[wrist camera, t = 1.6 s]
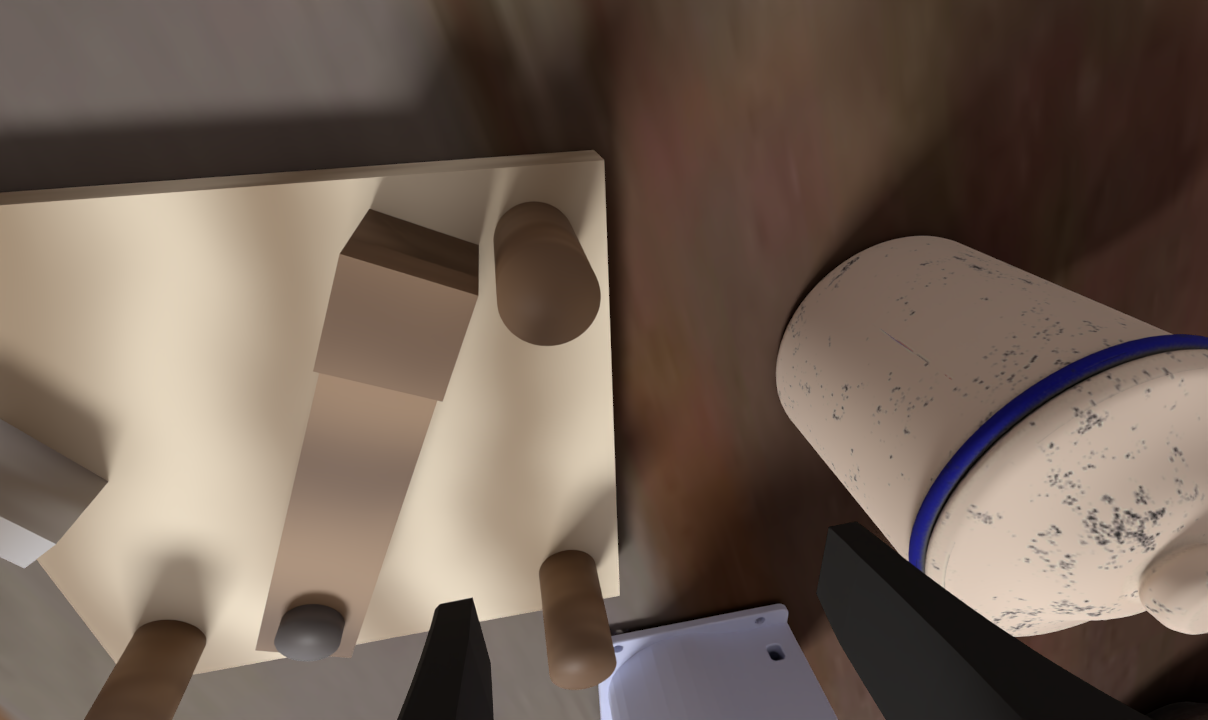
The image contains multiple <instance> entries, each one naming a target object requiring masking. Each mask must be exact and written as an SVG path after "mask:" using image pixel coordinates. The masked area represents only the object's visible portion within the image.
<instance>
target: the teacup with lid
mask: <svg viewBox="0 0 1208 720" xmlns="http://www.w3.org/2000/svg"><path fill="white" fill-rule="evenodd" d="M776 384H777V390H778V395H779V398H780V401H781V404H782V406H783V408H784V410H785V412H786V413H787V415H788V417H789V418H790V420H791V421H792V422H793V423H794V424H795V426H796V427H797V428H798V429H799V431H800V432H801V433H802V434H803V436H804V437H805V438H806V439H807V440H808V442H809V443H810V444H811V445H812V447H813V448H814V449H815V450H816V452H817V453H818V454H819V455H820V456H821V458H822V459H823V460H824V461H825V463H826V464H827V465H828V466H829V468H830V469H831V470H832V471H833V472H834V474H835V475H836V476H837V477H838V479H839V480H840V481H841V482H842V484H843V485H844V486H845V487H846V488H847V490H848V491H849V492H850V493H851V495H852V496H853V497H854V498H855V500H856V501H857V502H858V503H859V505H860V506H861V507H862V508H863V509H864V511H865V512H866V513H867V514H868V516H869V517H870V518H871V519H872V521H873V522H874V523H875V524H876V525H877V527H878V528H879V529H880V530H881V532H882V533H883V534H884V535H885V537H886V538H887V539H888V540H889V541H890V543H891V544H892V545H893V546H894V548H895V549H896V550H897V551H898V553H899V554H900V555H901V556H902V557H903V558H905V559H906V560H907V561H909V562H910V563H911V564H913V565H914V566H915V567H917V568H918V569H919V570H921V571H922V572H923V573H924V574H926V575H927V576H928V577H930V578H931V579H932V580H934V581H935V582H936V583H938V584H939V585H941V586H942V587H943V588H945V589H946V590H947V591H949V592H950V593H951V594H953V595H954V596H956V597H957V598H958V599H960V600H961V601H962V602H964V603H965V604H967V605H968V606H969V607H971V608H972V609H974V610H975V611H977V612H978V613H979V614H981V615H982V616H984V617H985V618H987V619H988V620H989V621H991V622H992V623H994V624H995V625H997V626H998V627H1000V628H1001V629H1003V630H1004V631H1006V632H1007V633H1009V634H1010V635H1012V636H1013V637H1020V636H1032V635H1039V634H1045V633H1050V632H1055V631H1059V630H1062V629H1066V628H1070V627H1073V626H1076V625H1079V624H1082V623H1085V622H1087V621H1090V620H1107V619H1114V618H1121V617H1126V616H1131V615H1134V614H1138V613H1141V612H1144V611H1146V610H1147V611H1148V612H1149V613H1150V614H1151V615H1153V616H1154V617H1155V618H1156V619H1157V620H1158V621H1160V622H1161V623H1162V624H1163V625H1165V626H1166V627H1168V628H1170V629H1172V630H1175V631H1178V632H1182V633H1185V634H1202V633H1207V632H1208V338H1207V337H1203V336H1196V335H1186V334H1176V335H1173V334H1171V333H1169V332H1166V331H1164V330H1162V329H1159V328H1157V327H1155V326H1152V325H1150V324H1147V323H1145V322H1143V321H1140V320H1138V319H1136V318H1133V317H1131V316H1129V315H1126V314H1124V313H1122V312H1119V311H1117V310H1115V309H1112V308H1110V307H1108V306H1105V305H1103V304H1101V303H1098V302H1096V301H1094V300H1091V299H1089V298H1087V297H1084V296H1082V295H1080V294H1077V293H1075V292H1073V291H1070V290H1068V289H1066V288H1063V287H1061V286H1059V285H1056V284H1054V283H1052V282H1049V281H1047V280H1045V279H1042V278H1040V277H1038V276H1035V275H1033V274H1031V273H1028V272H1026V271H1024V270H1021V269H1019V268H1016V267H1014V266H1012V265H1009V264H1007V263H1005V262H1002V261H1000V260H998V259H995V258H993V257H991V256H988V255H986V254H984V253H981V252H979V251H977V250H974V249H972V248H970V247H967V246H965V245H963V244H960V243H958V242H956V241H953V240H949V239H946V238H941V237H935V236H910V237H903V238H898V239H893V240H890V241H886V242H883V243H880V244H877V245H875V246H872V247H870V248H868V249H866V250H863V251H861V252H859V253H858V254H856V255H854V256H852V257H851V258H849V259H847V260H846V261H845V262H843V263H842V264H840V265H839V266H837V267H836V268H835V269H834V270H832V271H831V272H830V273H829V274H827V275H826V276H825V277H824V278H823V279H822V280H821V281H820V282H819V283H818V284H817V285H816V286H815V287H814V288H813V289H812V290H811V292H810V293H809V294H808V295H807V296H806V298H805V299H804V300H803V301H802V303H801V304H800V306H799V307H798V309H797V310H796V312H795V313H794V315H793V317H792V319H791V320H790V322H789V324H788V326H787V329H786V331H785V333H784V335H783V338H782V341H781V344H780V348H779V352H778V356H777V363H776Z"/></svg>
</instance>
